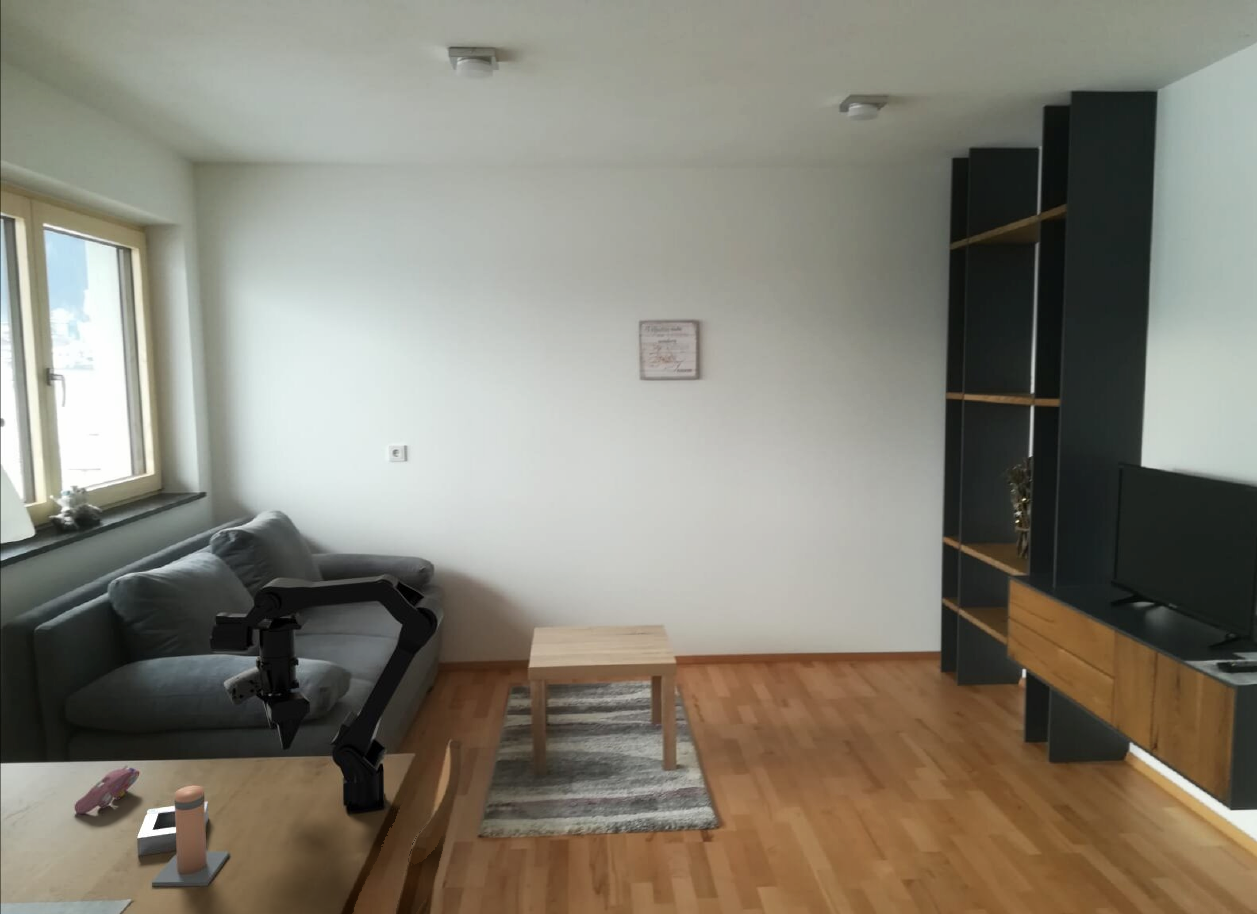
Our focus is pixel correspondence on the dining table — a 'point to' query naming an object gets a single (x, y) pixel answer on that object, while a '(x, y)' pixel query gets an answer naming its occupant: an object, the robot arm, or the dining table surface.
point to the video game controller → (107, 789)
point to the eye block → (160, 831)
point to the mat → (200, 878)
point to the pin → (190, 829)
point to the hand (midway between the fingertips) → (279, 738)
